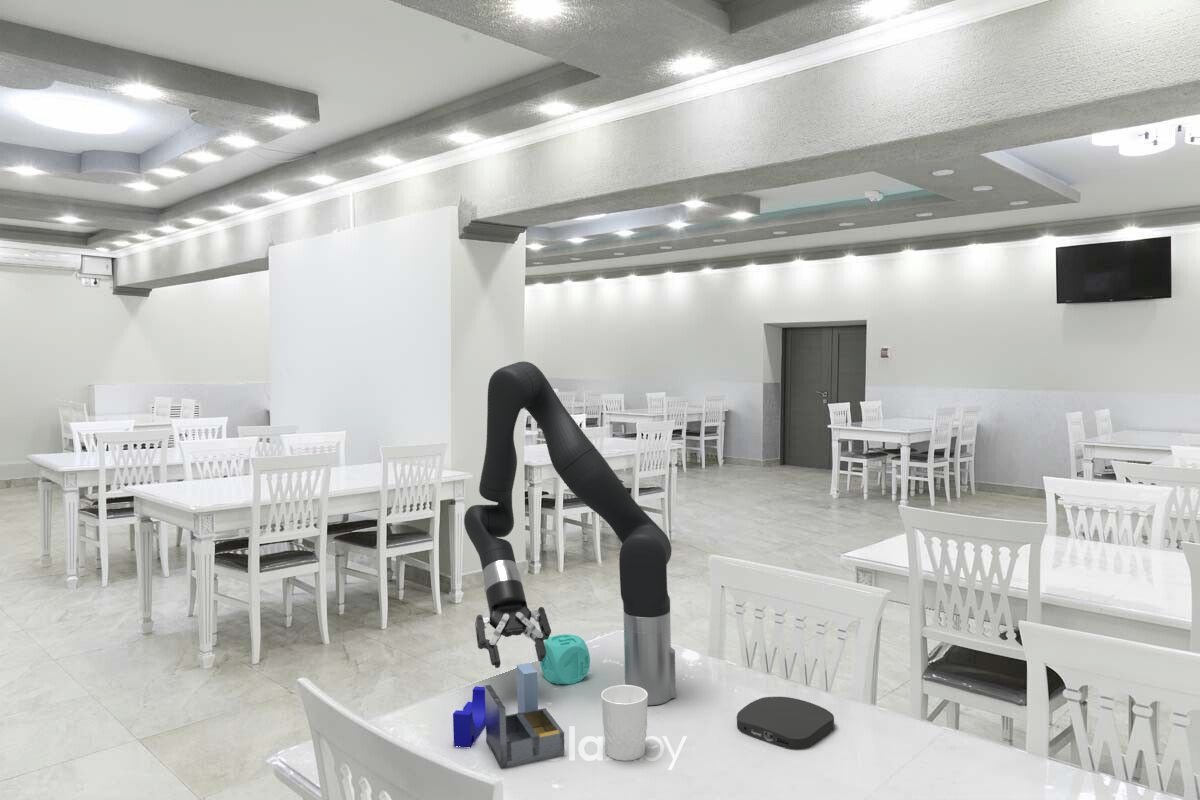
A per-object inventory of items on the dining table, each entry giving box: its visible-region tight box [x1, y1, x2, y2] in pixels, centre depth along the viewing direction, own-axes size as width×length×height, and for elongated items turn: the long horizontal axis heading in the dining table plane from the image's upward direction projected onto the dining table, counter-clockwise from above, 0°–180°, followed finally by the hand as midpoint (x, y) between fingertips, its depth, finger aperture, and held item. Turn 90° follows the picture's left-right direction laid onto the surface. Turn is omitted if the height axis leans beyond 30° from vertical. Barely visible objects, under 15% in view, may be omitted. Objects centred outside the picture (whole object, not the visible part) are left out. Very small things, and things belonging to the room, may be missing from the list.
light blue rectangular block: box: [516, 662, 539, 713], centre depth 150 cm, size 2×5×10 cm, turn 21°
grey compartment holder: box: [484, 684, 566, 770], centre depth 139 cm, size 11×10×10 cm
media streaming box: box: [736, 696, 835, 751], centre depth 145 cm, size 15×15×3 cm
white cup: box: [600, 684, 648, 762], centre depth 137 cm, size 8×8×10 cm
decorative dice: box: [539, 633, 591, 685], centre depth 170 cm, size 8×8×8 cm
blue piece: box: [452, 685, 486, 749], centre depth 146 cm, size 12×4×6 cm, turn 170°
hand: (520, 662), depth 153 cm, fingers open, 8 cm apart
